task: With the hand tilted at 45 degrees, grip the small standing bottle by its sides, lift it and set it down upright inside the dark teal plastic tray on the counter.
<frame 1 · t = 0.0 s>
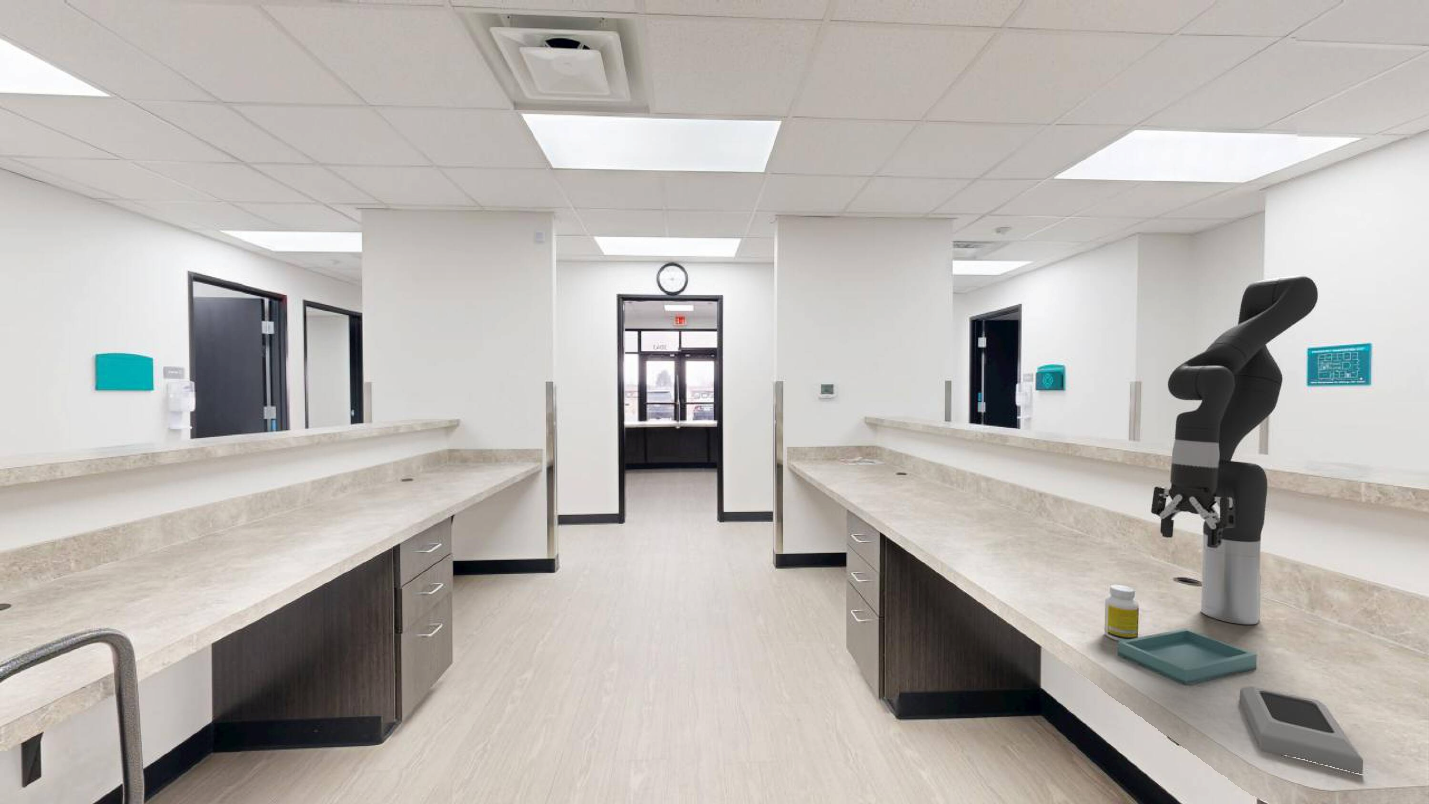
hand: (1189, 542, 121), 17 cm above the counter, tool pointing down, fingers open, 8 cm apart
tray: (1185, 661, 105), on the counter
gray beveled slab: (1294, 738, 83), on the counter
supplement bottle: (1121, 638, 115), on the counter
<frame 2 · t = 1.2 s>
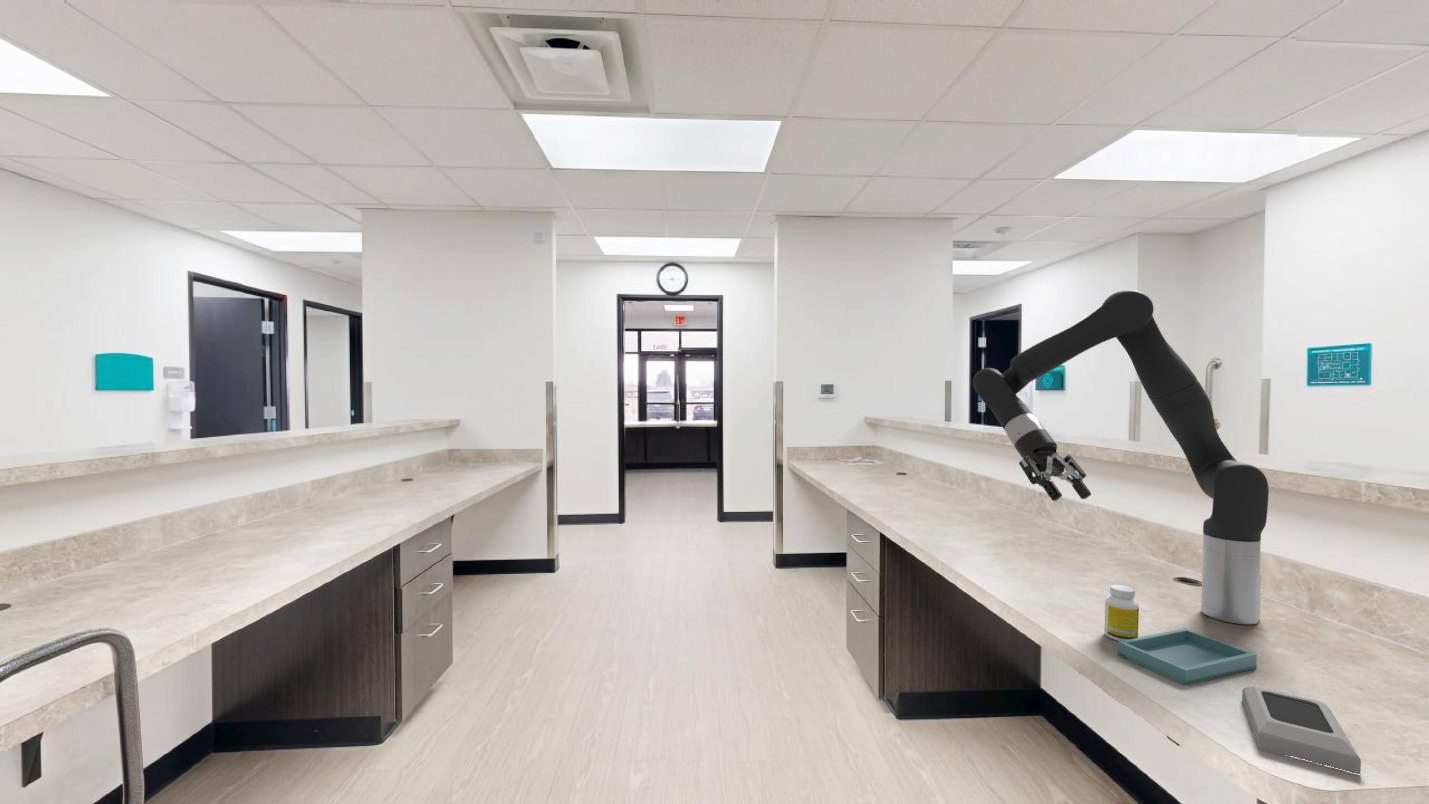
hand: (1072, 497, 125), 25 cm above the counter, tool tilted 45°, fingers open, 8 cm apart
nothing on the counter moved.
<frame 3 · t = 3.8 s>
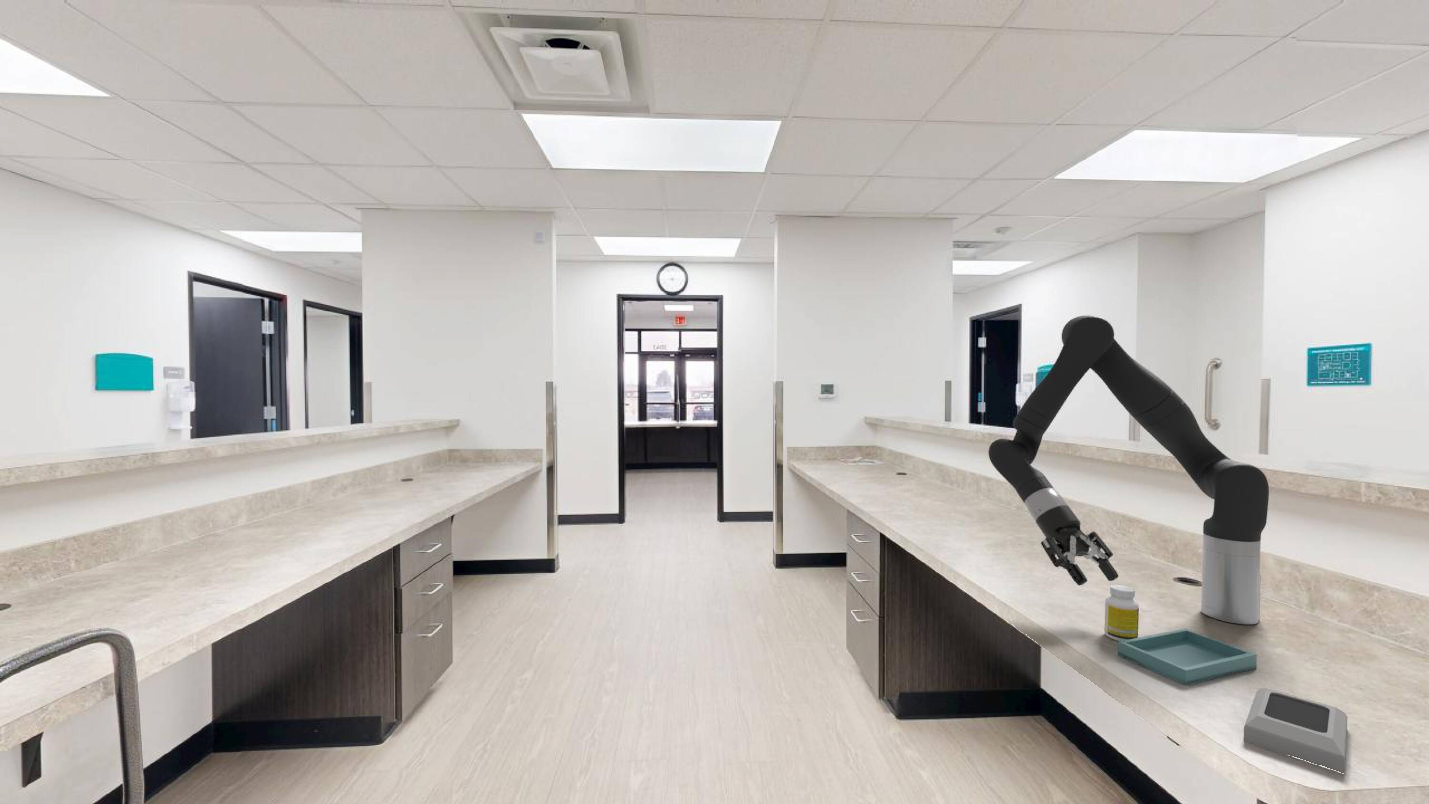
hand: (1099, 581, 119), 10 cm above the counter, tool tilted 45°, fingers open, 8 cm apart
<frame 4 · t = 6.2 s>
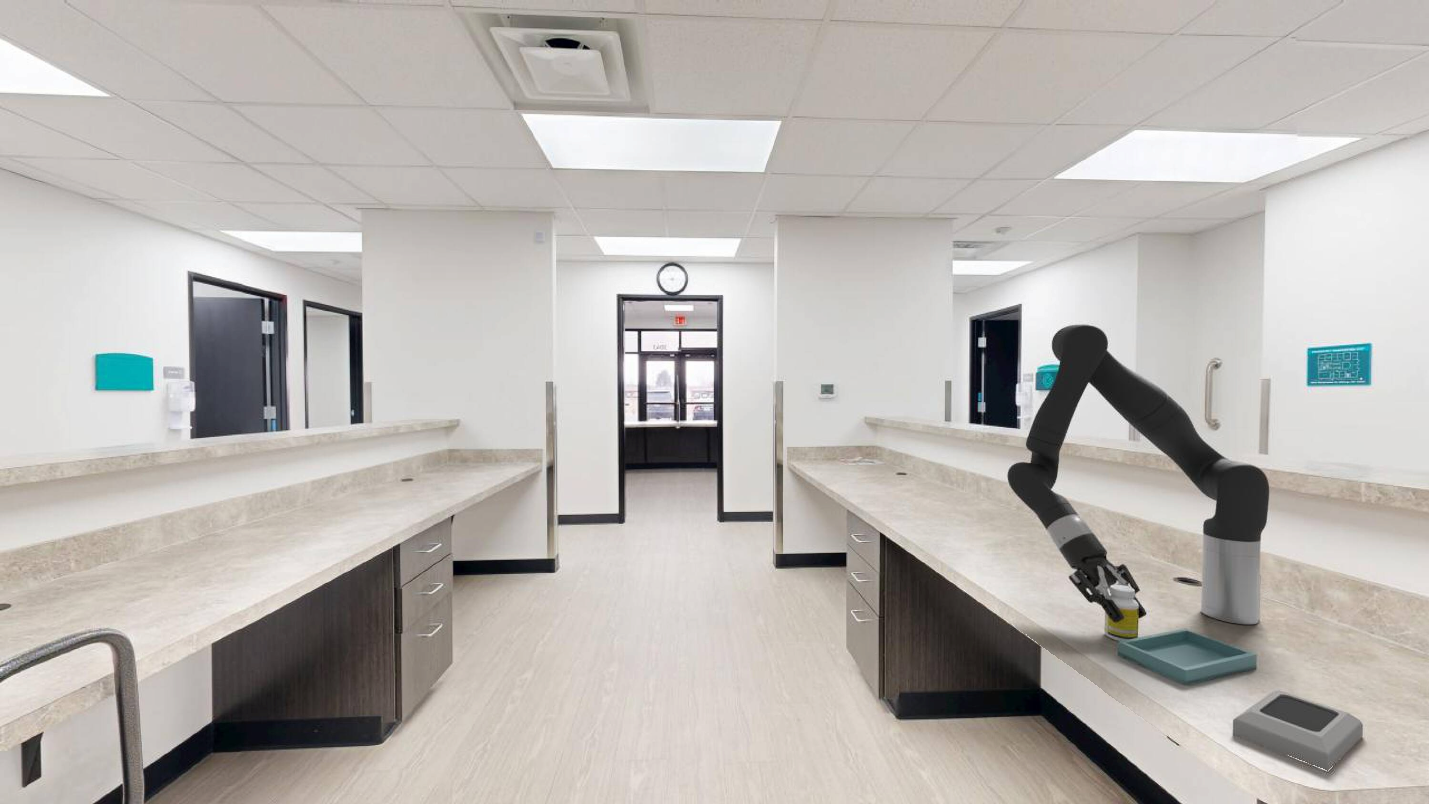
hand: (1130, 618, 113), 4 cm above the counter, tool tilted 45°, fingers closed on supplement bottle, 5 cm apart
supplement bottle: (1121, 638, 115), on the counter, touching gripper
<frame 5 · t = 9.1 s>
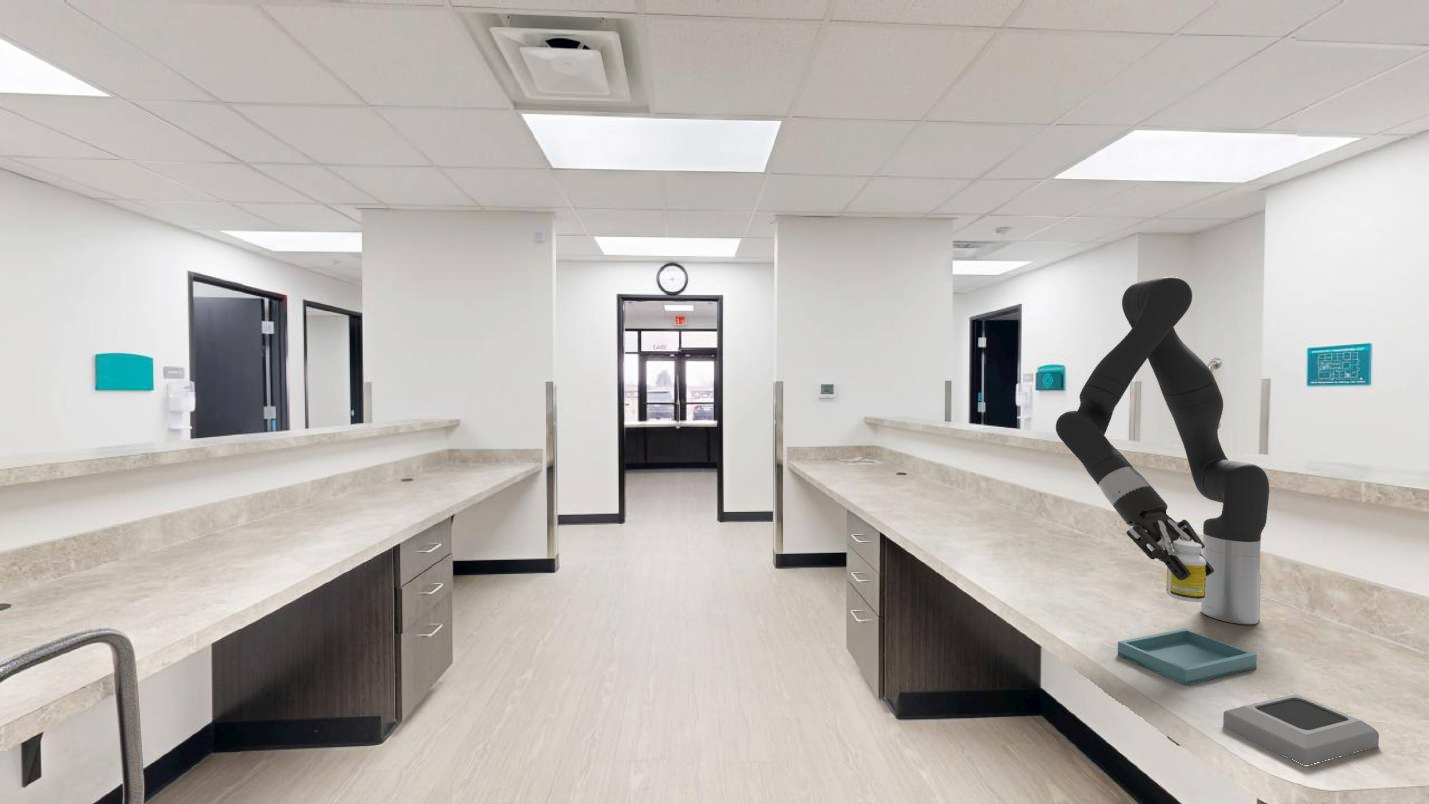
hand: (1197, 575, 103), 16 cm above the counter, tool tilted 45°, fingers closed on supplement bottle, 5 cm apart
supplement bottle: (1185, 598, 105), point 11 cm above the counter, touching gripper
when the fingers open (6 cm above the counter, at t = 12.1 s): supplement bottle drops 1 cm, resting on tray.
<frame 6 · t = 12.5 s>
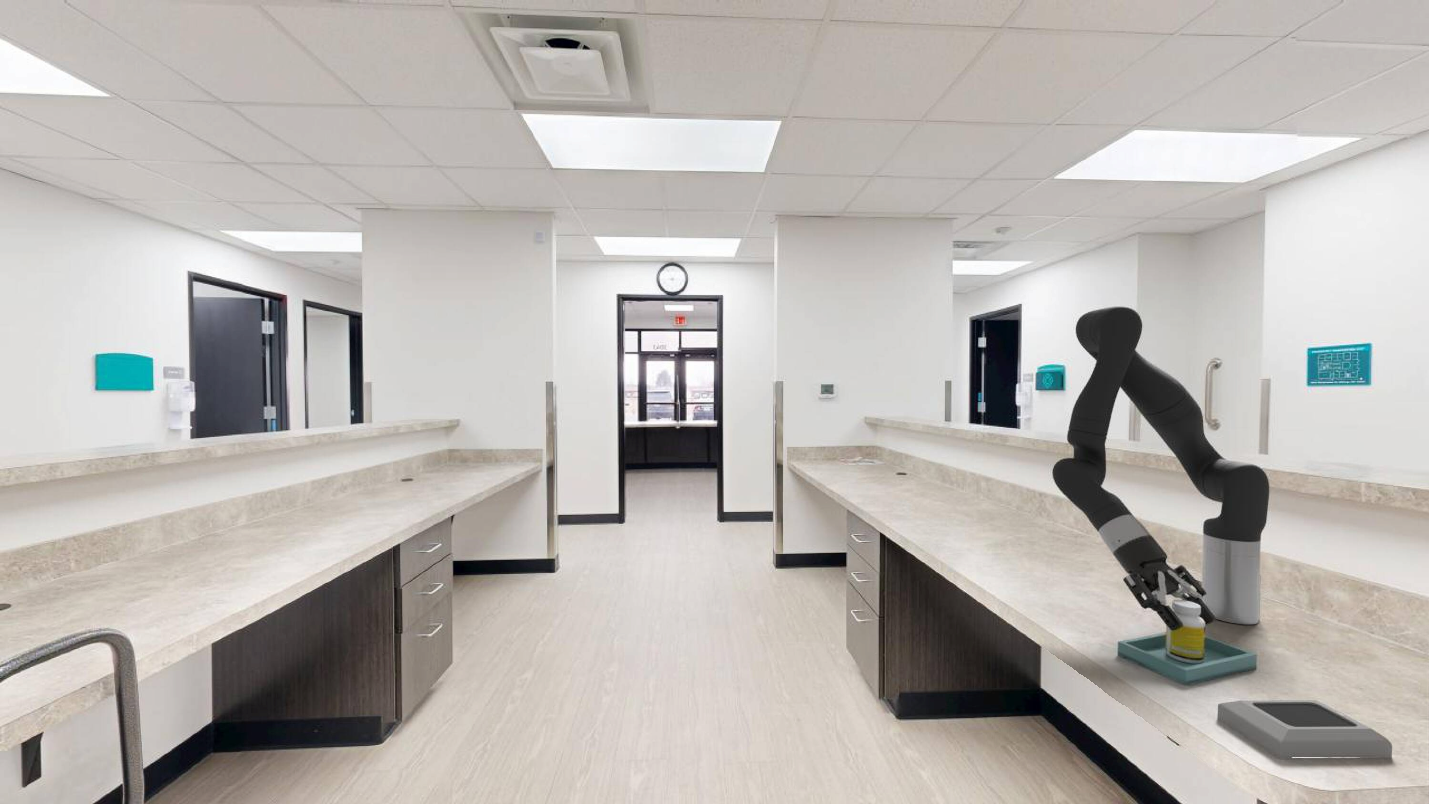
hand: (1194, 625, 104), 7 cm above the counter, tool tilted 45°, fingers open, 8 cm apart
supplement bottle: (1184, 658, 105), resting on tray
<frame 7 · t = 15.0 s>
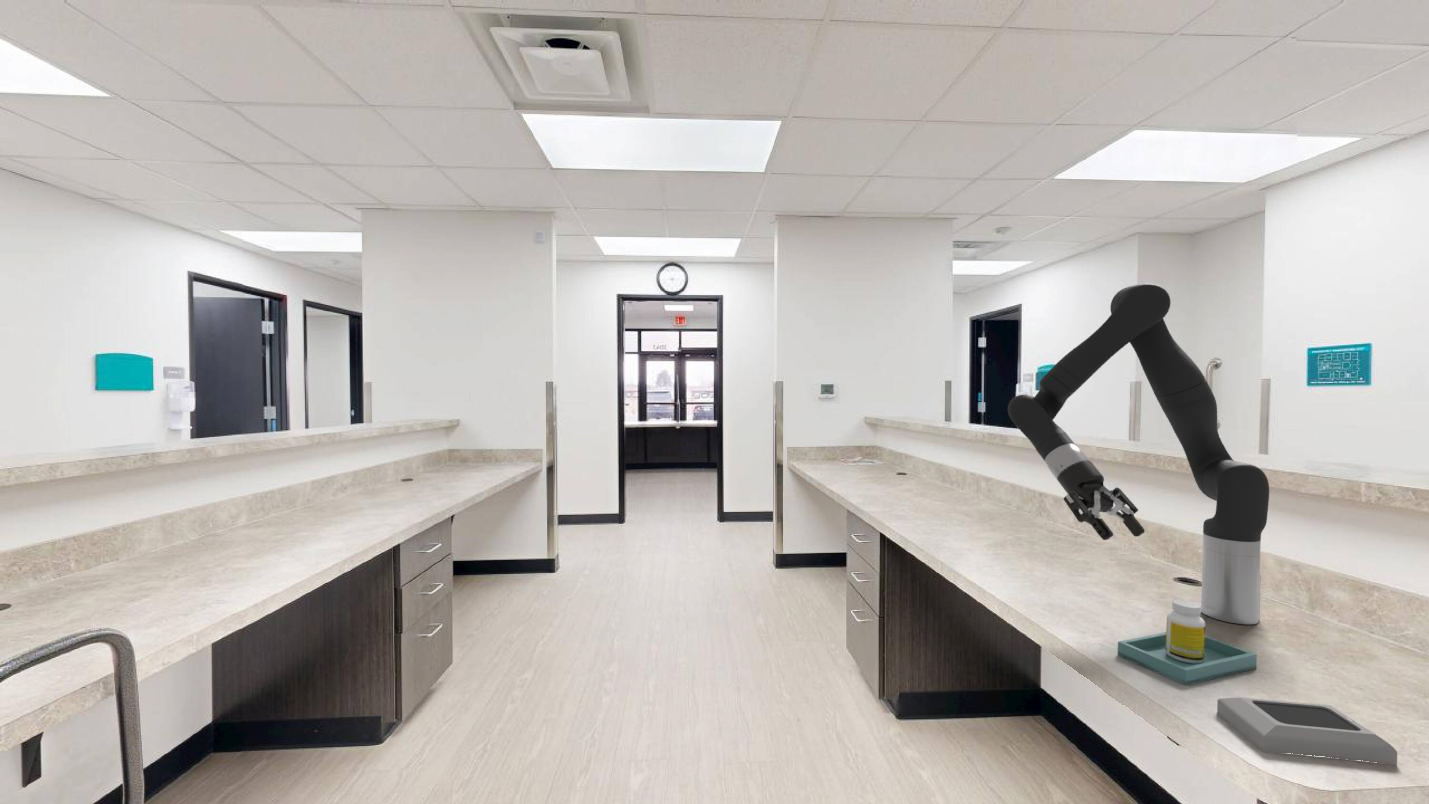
hand: (1125, 536, 115), 20 cm above the counter, tool tilted 45°, fingers open, 8 cm apart
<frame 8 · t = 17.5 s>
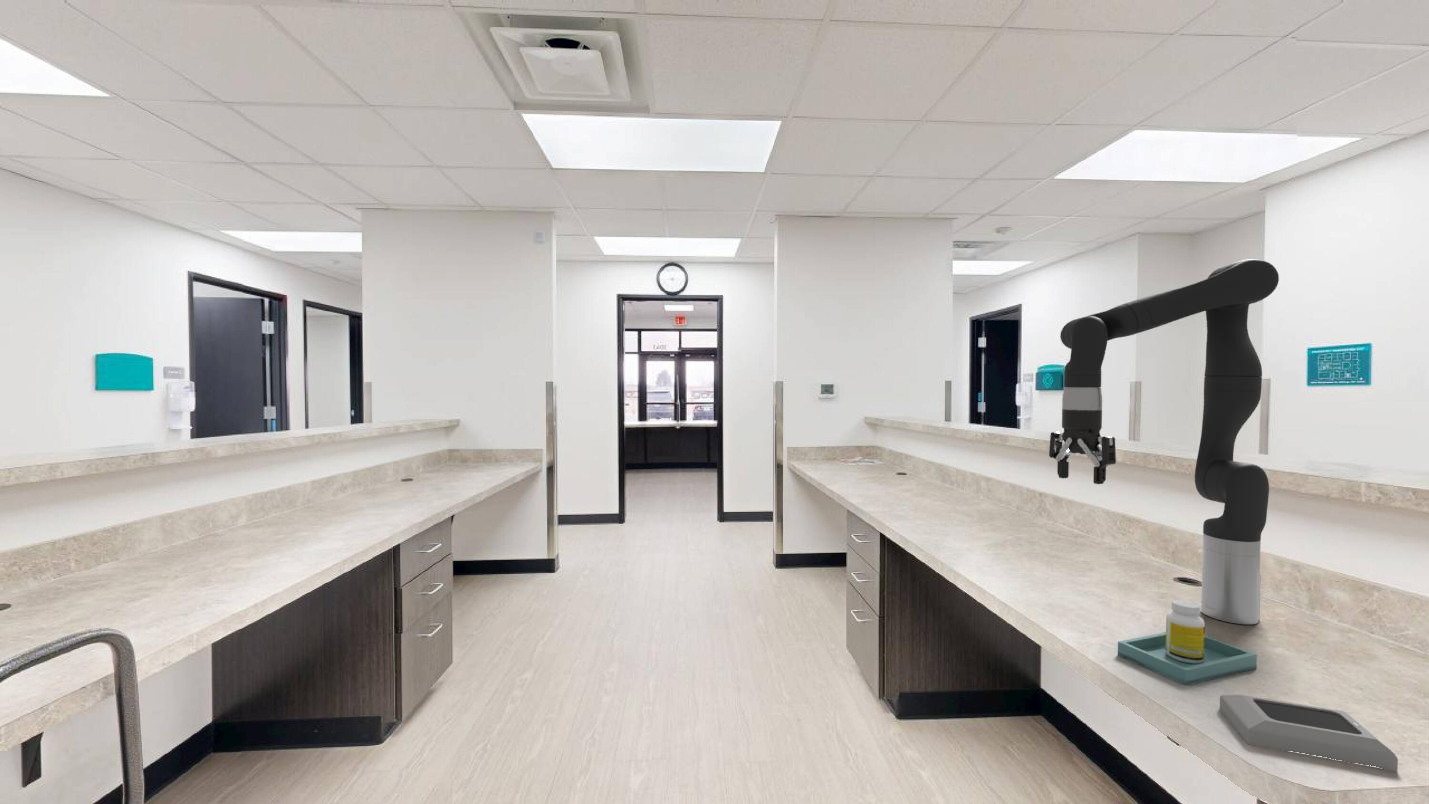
hand: (1080, 480, 131), 28 cm above the counter, tool pointing down, fingers open, 8 cm apart
at the end: supplement bottle inside the target area on the tray (0.2 cm from its centre), point 0.4 cm above the tray's base; supplement bottle tilted 0°; the gripper is holding nothing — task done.
